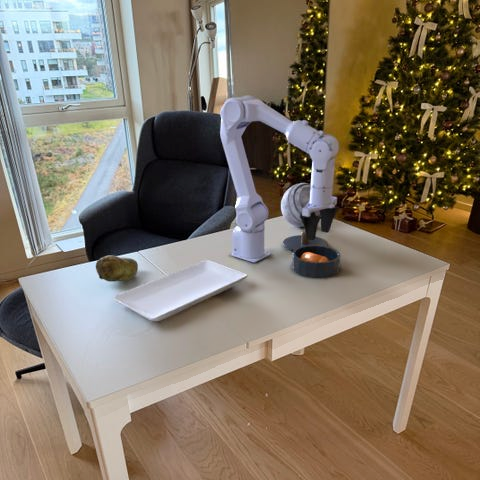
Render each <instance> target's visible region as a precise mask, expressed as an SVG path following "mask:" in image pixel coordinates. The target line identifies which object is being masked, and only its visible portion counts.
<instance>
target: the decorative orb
mask: <svg viewBox="0 0 480 480" xmlns="http://www.w3.org/2000/svg"><path fill="white" fill-rule="evenodd" d="M310 190H311V183H308V182H307V183H306V182H301V183H296V184H294V185H292V186H290V187H289V188H288V189H287V190H286V191H285V192H284V194H283V195H282V198H281V201H280V211H281V214H282V216H283V217H284V220H285V221H287V222H288V223H289V224H290V225H292V226H294V227H299V228H304V224H303V222H302V220H301V218H300V213H302V209H303V208H304V207H305V206H306V205H307V204H308V203H309V202H310ZM315 214H316V216H320V212H319V211H317V212H315Z"/></svg>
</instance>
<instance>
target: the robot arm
mask: <svg viewBox="0 0 480 480" xmlns="http://www.w3.org/2000/svg"><path fill="white" fill-rule="evenodd" d="M219 115H220V118H221V120H220V130H219V134H220V139H221V140H220V141H221V143H222V148H223V151H224V154H225V157H226V161H227V165H228V168H229V171H230V175H231V179H232V182H233V185H234V190H235V191H236V196H237V201H236V204H235V206H234V207H235V212H236V216H235V222H236V225H237V226H235V227H234V229H233V231H232V238H231V239H232V253H231V254H230V255H231V256H232V257H235V258H238V259H242V260H244V261H247V262H251V263H257V262H259V261H261V260H263V259H265V258H268V257H269V256H271V253H270V252H266V251H265V231H266V230H265V228H266V226H265V222H266V221H267V220H268V217H269V209H268V207H267V205H266V204H265V203H264V201H263V198H262V196H261V195H260V194H258V193H257V190H256V186H255V183H254V179H253V176H252V172H251V168H250V165H249V160H248V158H247V154H246V150H245V147H244V143H243V139H242V136H243V134H244V133H245V130H246V128H247V127H248V126H249V125H250V124H251V123H252V122H261V123H262V124H265V125H266V126H269V127H271V128H273V129H275V130H277V131H278V132H280V133H282V134H285V136H286V141H287V142H288V143H290V144H291V145H293V146H294V147H297V148H298V149H300V150H301V151H303V152H304V153H306V154H308V155H309V157H310V159H311V160H312V163H311V164H312V165H311V176H310V177H311V178H310V184H311V190H310V202H309V203H308V204H307V205H306V206H305V207H304V208H303V209H302V213H300V218H301V220H302V222H303V224H304V227H303V228H304V231H305V232H306V237H307V239H309V240H314V239H315V236H316V237H317V230H318V226H319V223H320V231H321V232H323V233H326V234H328V233H329V232H330V231H331V227H332V225H333V221H334V218H335V217H336V215H337V213H338V212H339V211H340V207H339V206H338V205H337V204H338V197H337V196H333V190H334V177H335V164H336V156H337V154H338V153H339V150H340V144H339V141H338V139H337V138H336V137H335V136H334V135H333V134H324V133H325V131H324V130H317V129H316V128H314V127H313V126H311V125H309V121H307V120H306V119H303V120H300V119H298V120H295V121H292V120H291V119H289V118H288V117H286V116H285V115H283V114H281V113H280V112H278V111H277V110H275V109H274V108H272V107H270V106H269V105H268V104H266V103H265V102H264V101H262V100H261V99H258V98H256V97H254V96H252V95H249V94H248V95H247V94H246V95H243V96H238V97H230V98H227V99H226V101H224V103H223V105H222V106H221V108H220V111H219ZM317 211H319V212H320V216H316V214H315V212H317Z"/></svg>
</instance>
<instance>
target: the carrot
mask: <svg viewBox="0 0 480 480" xmlns="http://www.w3.org/2000/svg"><path fill="white" fill-rule="evenodd" d="M301 259H302V260H305V261H309V262H328V261H329V260H328V259H327V258H326V257H324V256H321V255H317V254H313V253H310V252H306V253H304V254H302V256H301Z"/></svg>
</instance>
